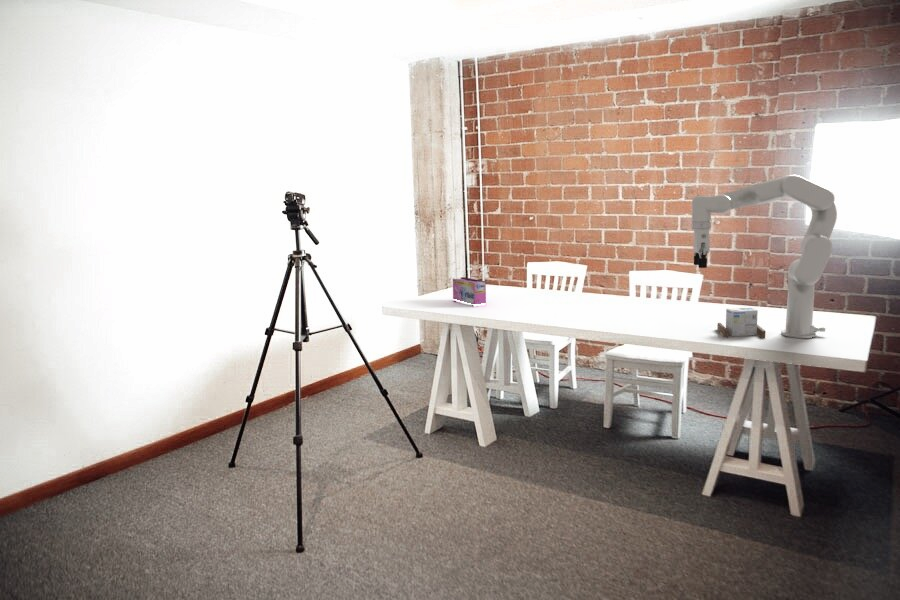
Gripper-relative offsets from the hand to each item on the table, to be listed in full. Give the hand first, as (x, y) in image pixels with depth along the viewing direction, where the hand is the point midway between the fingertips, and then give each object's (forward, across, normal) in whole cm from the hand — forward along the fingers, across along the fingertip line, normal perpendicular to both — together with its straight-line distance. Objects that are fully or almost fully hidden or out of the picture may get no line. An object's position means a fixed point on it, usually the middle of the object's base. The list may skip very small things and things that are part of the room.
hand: (700, 266), depth 272 cm
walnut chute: (+28, -4, -16) cm, 33 cm away
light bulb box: (+29, -4, -16) cm, 33 cm away
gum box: (+28, +67, +109) cm, 131 cm away
